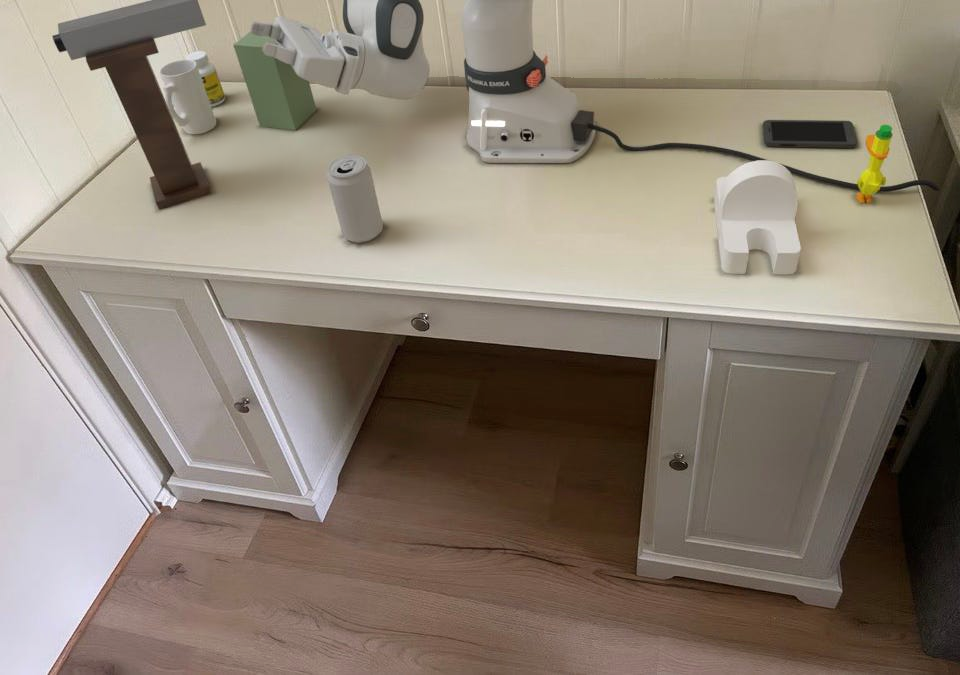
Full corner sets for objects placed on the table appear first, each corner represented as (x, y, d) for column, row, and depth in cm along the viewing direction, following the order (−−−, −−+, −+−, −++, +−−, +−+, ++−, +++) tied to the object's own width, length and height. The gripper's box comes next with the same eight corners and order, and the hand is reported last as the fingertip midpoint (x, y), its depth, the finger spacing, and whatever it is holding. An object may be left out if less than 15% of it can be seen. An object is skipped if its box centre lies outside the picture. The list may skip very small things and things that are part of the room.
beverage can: (336, 243, 120) (317, 175, 111) (353, 218, 124) (335, 152, 116) (374, 247, 118) (358, 179, 110) (390, 222, 122) (375, 154, 114)
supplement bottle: (201, 110, 157) (183, 64, 150) (197, 100, 161) (180, 53, 154) (228, 103, 158) (211, 56, 151) (223, 92, 162) (207, 46, 155)
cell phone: (857, 148, 123) (858, 144, 123) (763, 146, 126) (764, 142, 126) (851, 124, 128) (852, 120, 128) (762, 123, 131) (762, 119, 131)
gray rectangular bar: (201, 15, 123) (192, -11, 120) (206, 25, 119) (197, -2, 117) (62, 52, 118) (49, 25, 115) (63, 62, 115) (49, 35, 112)
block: (316, 109, 152) (294, 28, 141) (295, 130, 147) (271, 47, 136) (281, 106, 155) (257, 25, 144) (259, 126, 150) (233, 44, 138)
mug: (194, 117, 155) (171, 59, 147) (224, 118, 153) (202, 59, 145) (167, 143, 148) (142, 84, 140) (199, 145, 147) (175, 85, 138)
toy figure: (844, 186, 117) (863, 112, 109) (869, 184, 116) (890, 110, 108) (857, 212, 112) (878, 137, 104) (883, 211, 112) (906, 136, 103)
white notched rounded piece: (722, 273, 106) (731, 207, 98) (713, 197, 118) (721, 133, 111) (797, 274, 104) (812, 207, 97) (780, 197, 117) (792, 132, 109)
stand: (206, 168, 140) (148, 24, 122) (214, 192, 134) (155, 44, 116) (149, 185, 138) (83, 41, 120) (155, 210, 132) (86, 62, 114)
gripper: (326, 19, 139) (248, -3, 131) (361, 62, 125) (276, 39, 117) (317, 54, 142) (240, 34, 134) (349, 99, 128) (266, 79, 120)
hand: (257, 36), depth 126 cm, fingers open, 8 cm apart
